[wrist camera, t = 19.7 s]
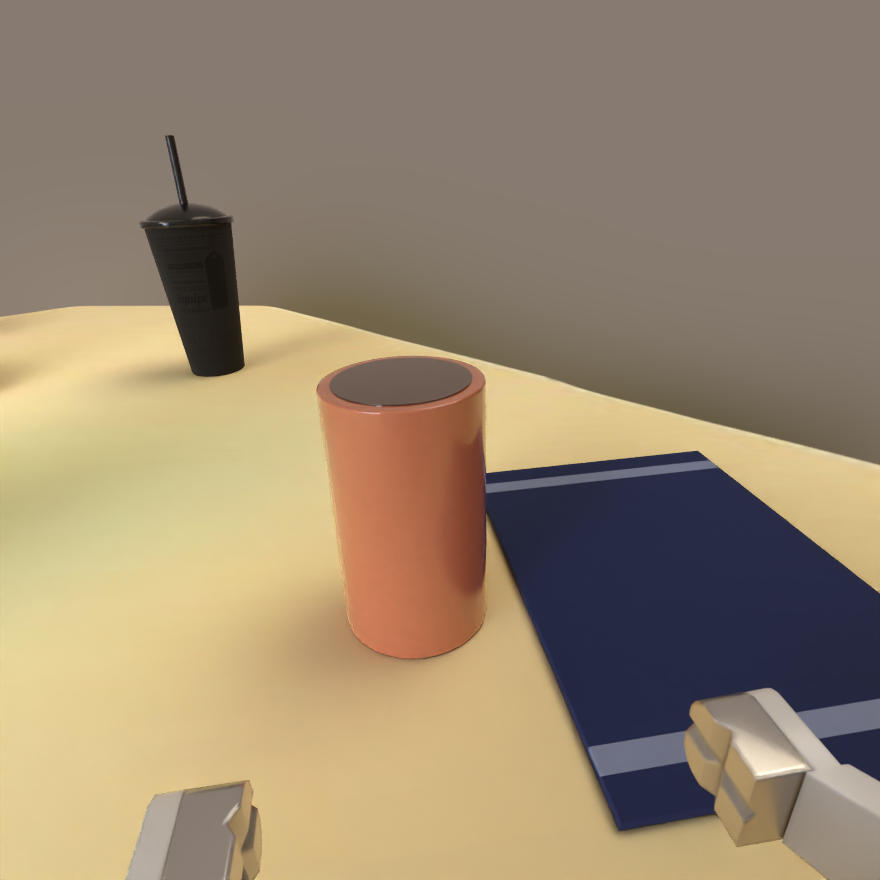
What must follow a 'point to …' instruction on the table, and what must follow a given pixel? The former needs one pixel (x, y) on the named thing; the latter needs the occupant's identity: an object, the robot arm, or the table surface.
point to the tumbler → (408, 499)
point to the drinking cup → (198, 278)
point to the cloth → (682, 617)
